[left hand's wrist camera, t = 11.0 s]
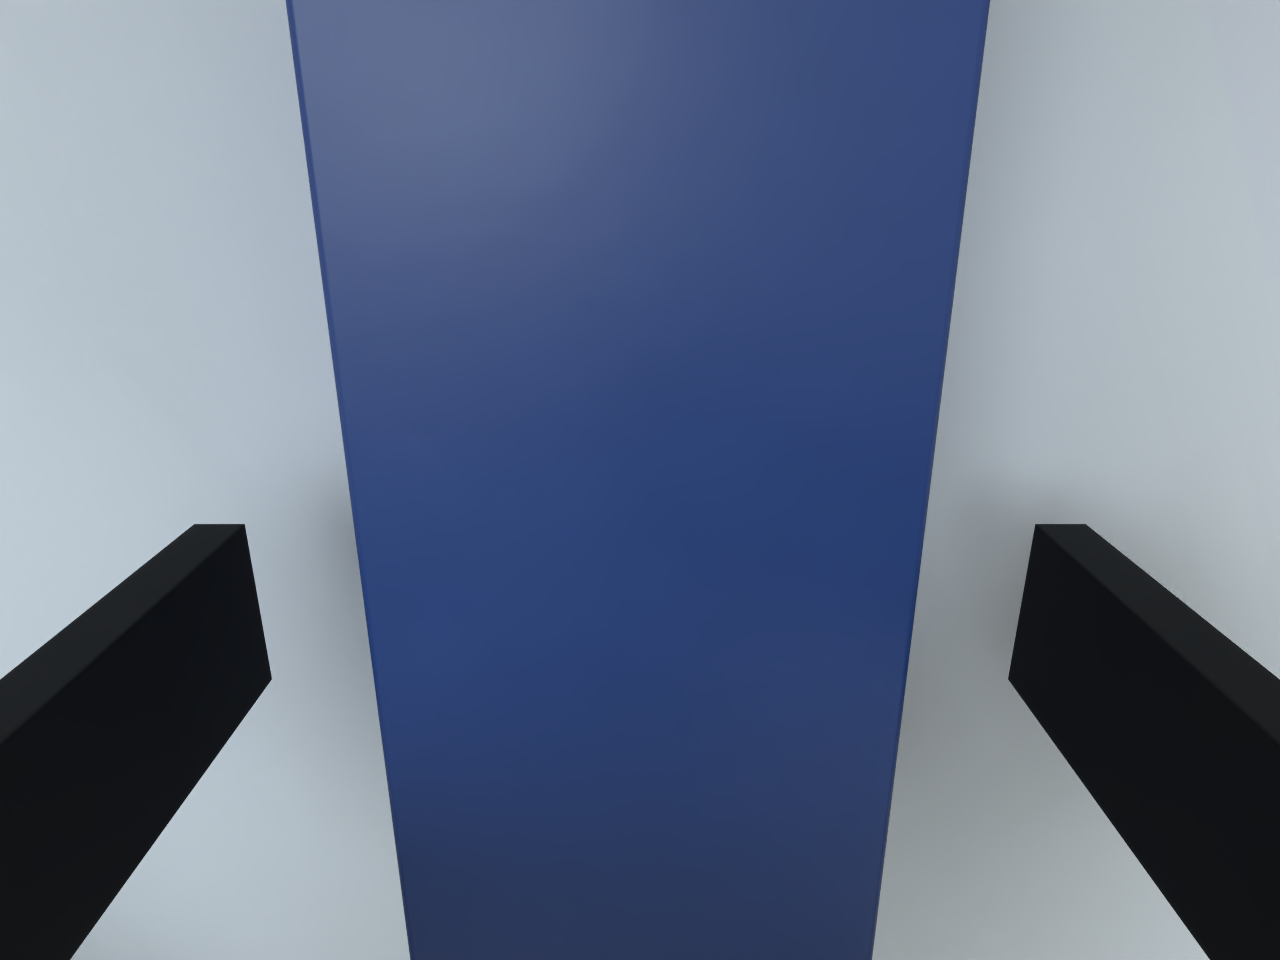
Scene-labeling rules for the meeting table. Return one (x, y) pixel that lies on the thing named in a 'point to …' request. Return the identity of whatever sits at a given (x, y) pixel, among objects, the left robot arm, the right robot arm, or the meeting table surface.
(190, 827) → the meeting table surface
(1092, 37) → the meeting table surface
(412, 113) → the blue block
